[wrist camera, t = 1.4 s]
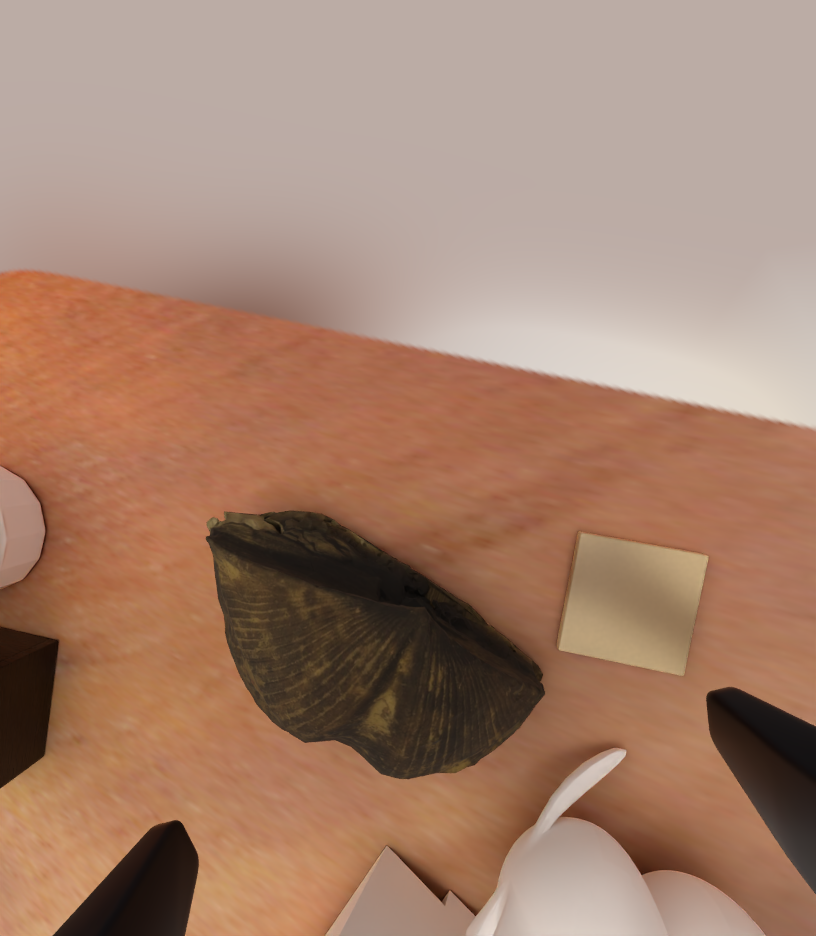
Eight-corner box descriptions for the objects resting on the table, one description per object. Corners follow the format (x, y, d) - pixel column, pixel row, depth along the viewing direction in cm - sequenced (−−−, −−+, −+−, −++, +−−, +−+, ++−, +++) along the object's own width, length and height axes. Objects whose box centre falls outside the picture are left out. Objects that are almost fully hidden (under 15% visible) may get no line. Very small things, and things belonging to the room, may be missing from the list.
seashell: (581, 633, 20) (619, 770, 14) (479, 757, 23) (468, 921, 16) (275, 451, 21) (170, 496, 14) (214, 591, 24) (102, 683, 17)
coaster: (678, 671, 20) (684, 677, 20) (555, 645, 21) (558, 650, 20) (703, 553, 20) (709, 556, 19) (577, 530, 20) (580, 532, 20)
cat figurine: (501, 1101, 12) (935, 1437, 11) (616, 713, 17) (924, 912, 16) (433, 940, 20) (680, 1123, 18) (525, 706, 25) (726, 838, 23)
